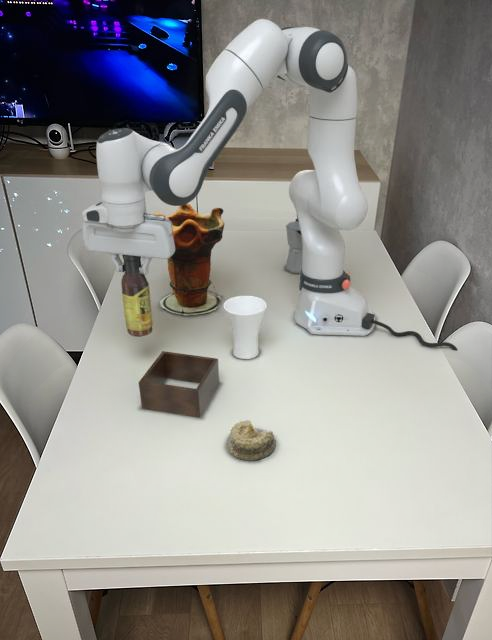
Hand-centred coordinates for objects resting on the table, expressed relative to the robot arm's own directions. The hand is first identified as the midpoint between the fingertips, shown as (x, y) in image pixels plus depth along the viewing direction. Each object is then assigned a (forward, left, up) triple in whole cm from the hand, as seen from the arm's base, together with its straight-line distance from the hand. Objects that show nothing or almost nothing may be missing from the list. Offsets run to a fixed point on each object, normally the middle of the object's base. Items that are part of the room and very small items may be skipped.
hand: (133, 272), depth 137 cm
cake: (-34, +24, -24) cm, 48 cm away
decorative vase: (0, -35, -24) cm, 43 cm away
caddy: (-14, +11, -24) cm, 30 cm away
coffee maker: (-25, -68, -24) cm, 76 cm away
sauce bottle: (0, 0, -15) cm, 15 cm away
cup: (-23, -11, -24) cm, 35 cm away
